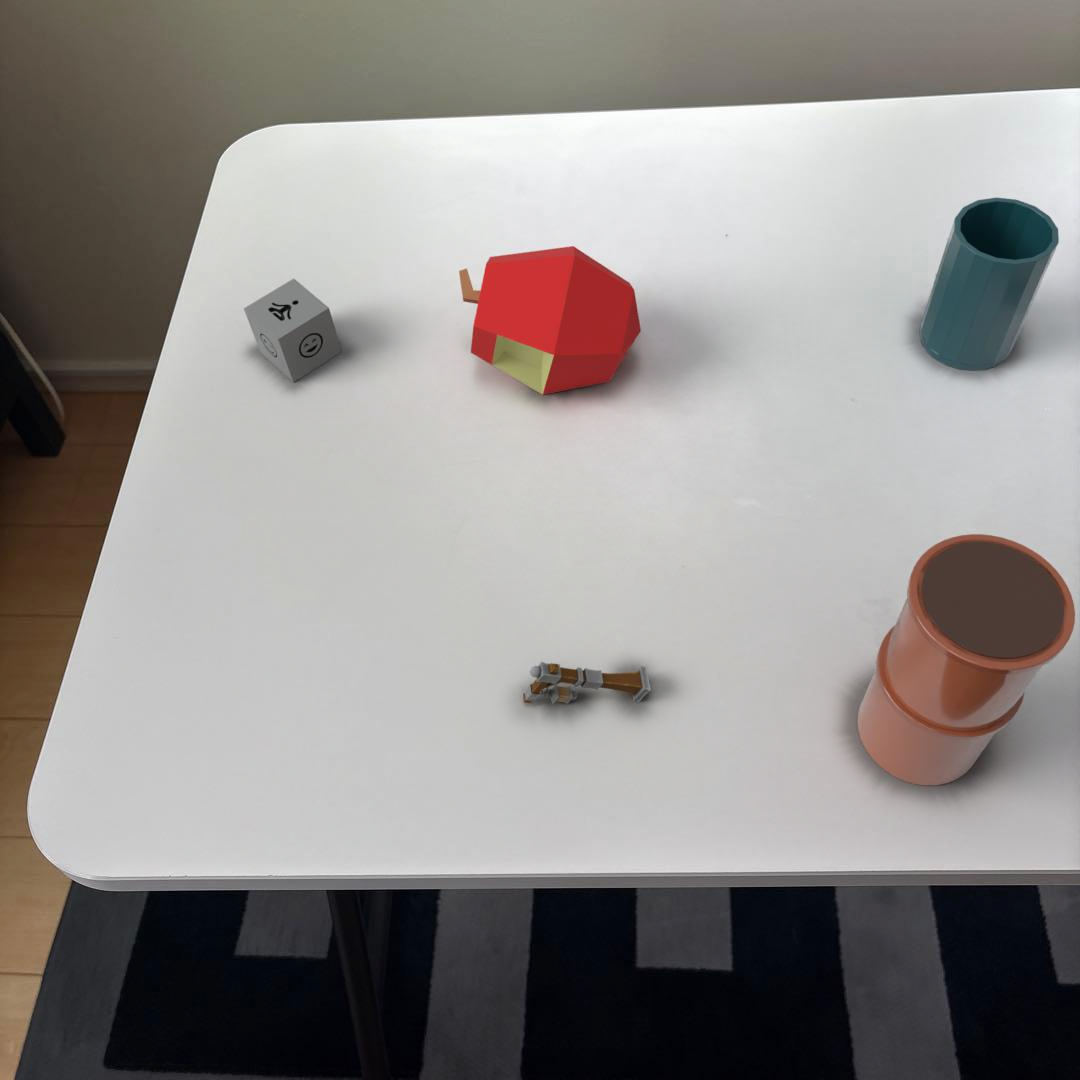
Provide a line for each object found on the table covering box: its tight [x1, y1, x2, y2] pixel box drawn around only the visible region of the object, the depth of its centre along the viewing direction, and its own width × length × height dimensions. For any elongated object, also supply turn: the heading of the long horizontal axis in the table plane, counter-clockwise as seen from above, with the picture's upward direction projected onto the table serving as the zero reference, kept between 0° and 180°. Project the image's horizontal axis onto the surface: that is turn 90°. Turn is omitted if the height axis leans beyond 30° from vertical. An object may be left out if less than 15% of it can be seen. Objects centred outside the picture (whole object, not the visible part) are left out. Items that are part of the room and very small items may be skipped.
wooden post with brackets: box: [522, 661, 651, 705], centre depth 70 cm, size 2×8×4 cm, turn 95°
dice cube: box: [243, 278, 343, 383], centre depth 88 cm, size 5×5×5 cm
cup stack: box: [857, 533, 1076, 786], centre depth 61 cm, size 8×8×16 cm
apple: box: [458, 245, 642, 396], centre depth 83 cm, size 12×12×15 cm
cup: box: [919, 197, 1060, 371], centre depth 83 cm, size 7×7×11 cm
